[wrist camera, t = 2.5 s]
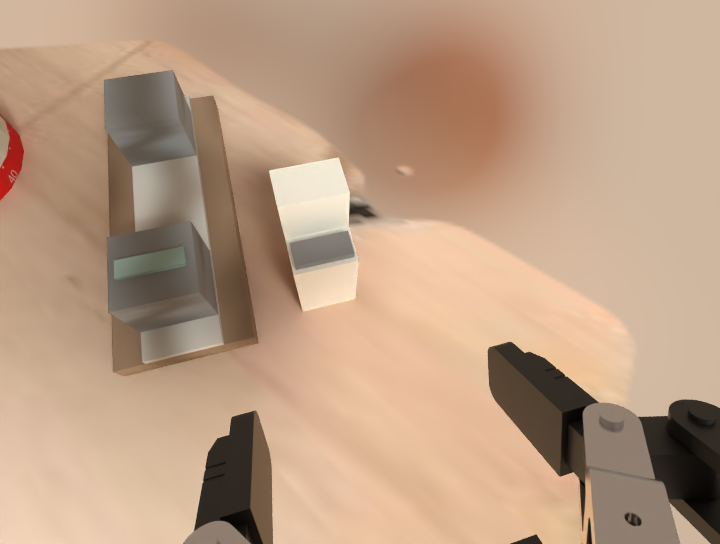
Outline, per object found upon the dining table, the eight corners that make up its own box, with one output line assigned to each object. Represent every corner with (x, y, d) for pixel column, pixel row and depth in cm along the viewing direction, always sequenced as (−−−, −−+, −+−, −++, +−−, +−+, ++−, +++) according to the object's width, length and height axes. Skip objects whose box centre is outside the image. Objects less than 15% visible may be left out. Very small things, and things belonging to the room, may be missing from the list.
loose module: (302, 311, 29) (286, 247, 20) (289, 253, 31) (268, 170, 22) (355, 298, 30) (361, 230, 21) (339, 242, 32) (338, 157, 23)
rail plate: (124, 376, 27) (65, 354, 21) (116, 125, 36) (73, 62, 30) (258, 342, 28) (237, 314, 22) (217, 108, 37) (195, 45, 31)
